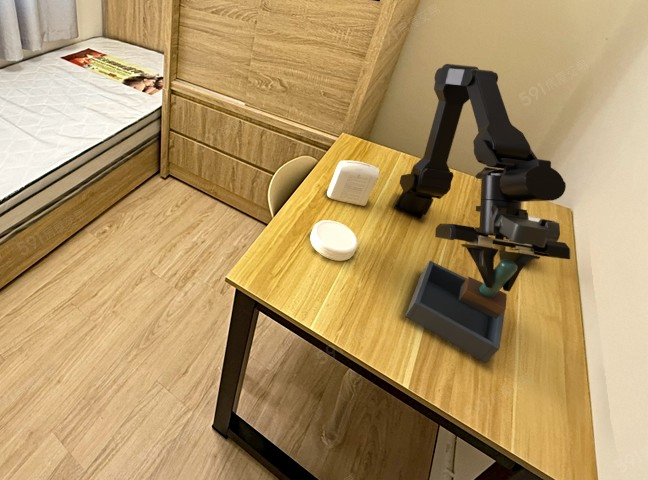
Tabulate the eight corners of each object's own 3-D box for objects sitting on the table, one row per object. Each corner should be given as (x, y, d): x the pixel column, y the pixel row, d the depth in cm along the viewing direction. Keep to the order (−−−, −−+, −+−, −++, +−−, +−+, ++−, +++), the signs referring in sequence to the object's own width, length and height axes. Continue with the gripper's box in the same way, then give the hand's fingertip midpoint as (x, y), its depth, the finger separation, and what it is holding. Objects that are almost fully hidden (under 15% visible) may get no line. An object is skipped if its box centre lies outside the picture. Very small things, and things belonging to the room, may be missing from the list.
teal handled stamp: (458, 300, 77) (489, 260, 70) (460, 286, 79) (491, 246, 72) (496, 319, 74) (533, 279, 67) (497, 304, 76) (533, 263, 69)
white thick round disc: (305, 227, 101) (308, 217, 99) (345, 230, 101) (350, 220, 99) (315, 259, 93) (319, 249, 91) (359, 263, 92) (364, 253, 90)
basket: (404, 317, 81) (414, 302, 78) (420, 275, 90) (429, 260, 87) (484, 364, 74) (499, 349, 71) (493, 313, 83) (507, 298, 80)
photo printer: (365, 197, 111) (381, 162, 104) (367, 208, 107) (383, 172, 100) (326, 189, 113) (338, 154, 106) (326, 199, 110) (340, 164, 103)
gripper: (471, 191, 68) (467, 285, 66) (600, 211, 65) (601, 311, 62) (436, 194, 79) (431, 275, 77) (545, 211, 76) (543, 297, 73)
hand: (497, 289), depth 72 cm, fingers closed on teal handled stamp, 2 cm apart
